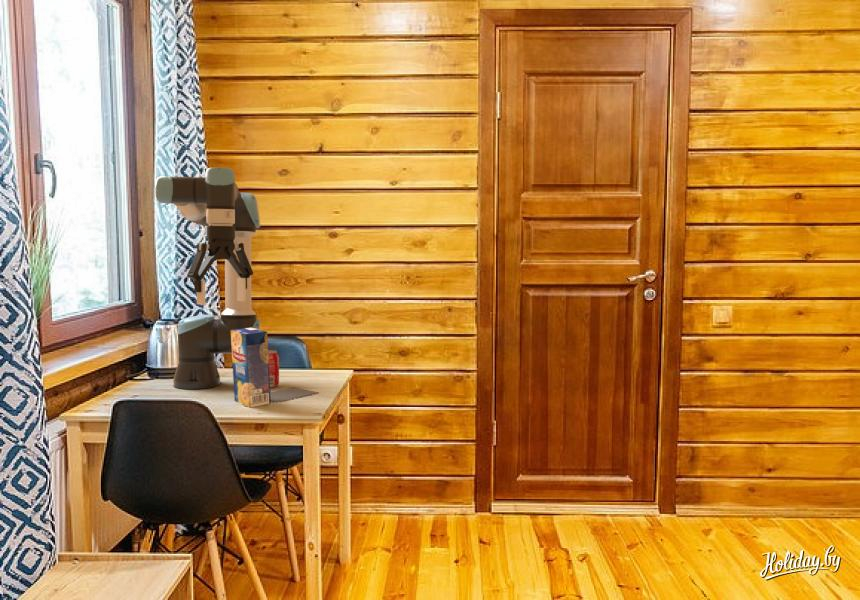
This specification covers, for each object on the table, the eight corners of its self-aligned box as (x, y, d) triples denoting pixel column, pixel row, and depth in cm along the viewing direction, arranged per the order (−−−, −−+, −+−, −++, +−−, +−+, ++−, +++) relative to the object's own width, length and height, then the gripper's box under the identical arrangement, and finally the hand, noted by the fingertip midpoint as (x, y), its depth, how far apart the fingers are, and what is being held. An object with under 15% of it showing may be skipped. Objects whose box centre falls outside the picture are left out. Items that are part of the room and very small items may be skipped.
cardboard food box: (255, 396, 234) (251, 327, 231) (270, 403, 225) (267, 331, 222) (234, 400, 229) (230, 330, 227) (249, 407, 221) (245, 334, 218)
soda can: (270, 383, 255) (270, 348, 254) (283, 386, 250) (283, 351, 249) (253, 386, 249) (253, 351, 248) (266, 389, 245) (266, 353, 244)
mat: (251, 396, 234) (251, 396, 234) (293, 388, 248) (293, 387, 248) (276, 402, 227) (276, 401, 227) (318, 393, 241) (318, 392, 241)
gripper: (190, 224, 191) (191, 307, 193) (265, 225, 211) (265, 300, 213) (172, 224, 195) (174, 304, 197) (247, 225, 215) (248, 298, 217)
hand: (221, 302), depth 205 cm, fingers open, 13 cm apart
